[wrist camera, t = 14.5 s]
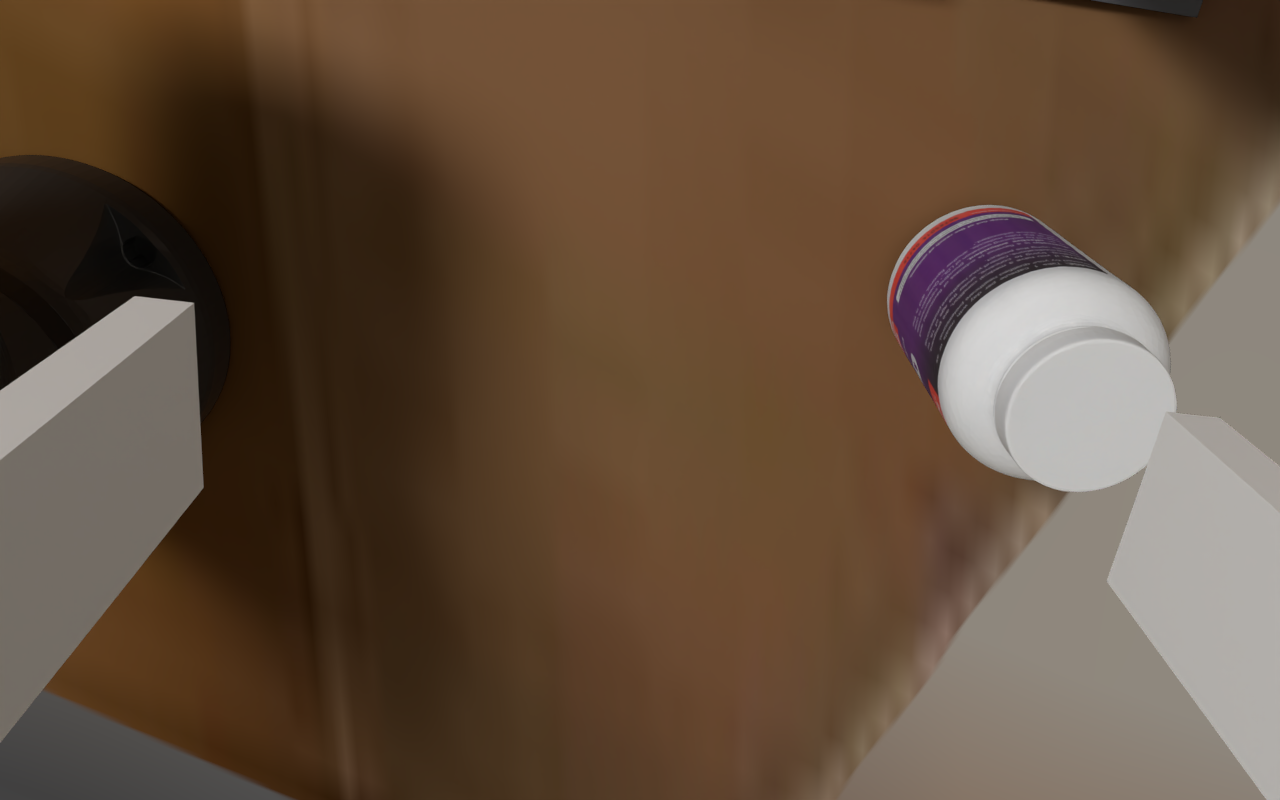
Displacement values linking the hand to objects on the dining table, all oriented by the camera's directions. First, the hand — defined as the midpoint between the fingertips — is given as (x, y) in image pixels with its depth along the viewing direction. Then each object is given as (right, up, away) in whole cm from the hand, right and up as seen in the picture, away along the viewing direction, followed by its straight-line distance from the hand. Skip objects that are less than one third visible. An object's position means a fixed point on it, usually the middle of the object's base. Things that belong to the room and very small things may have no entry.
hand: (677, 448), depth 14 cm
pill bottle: (+15, +6, +33) cm, 37 cm away
